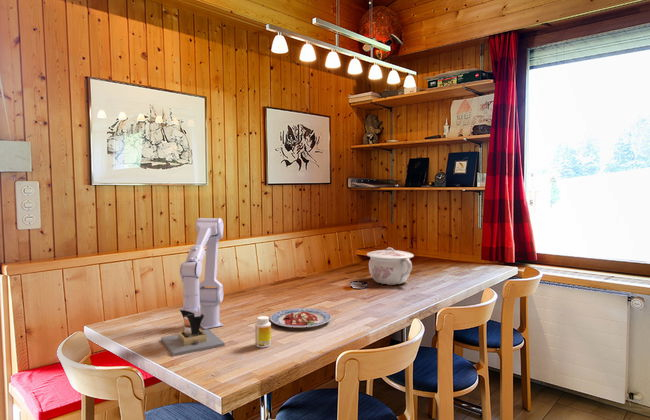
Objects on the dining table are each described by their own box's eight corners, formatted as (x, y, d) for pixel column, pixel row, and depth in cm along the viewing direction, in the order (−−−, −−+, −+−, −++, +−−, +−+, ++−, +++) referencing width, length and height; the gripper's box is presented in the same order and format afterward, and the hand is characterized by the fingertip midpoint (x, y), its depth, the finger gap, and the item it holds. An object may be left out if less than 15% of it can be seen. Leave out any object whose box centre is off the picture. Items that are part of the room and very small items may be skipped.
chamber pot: (367, 276, 277) (367, 243, 275) (412, 278, 273) (412, 244, 272) (364, 287, 249) (365, 250, 248) (415, 289, 245) (415, 251, 244)
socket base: (161, 340, 167) (161, 337, 167) (208, 331, 176) (208, 328, 176) (173, 356, 152) (173, 353, 151) (224, 345, 161) (224, 343, 161)
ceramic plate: (262, 316, 196) (262, 310, 196) (317, 310, 206) (317, 303, 206) (280, 335, 172) (280, 328, 172) (341, 327, 183) (341, 319, 182)
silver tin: (196, 336, 167) (195, 313, 167) (200, 340, 163) (200, 316, 163) (182, 339, 164) (182, 315, 164) (187, 343, 160) (186, 319, 160)
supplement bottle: (274, 345, 162) (274, 317, 161) (262, 349, 158) (261, 320, 157) (264, 341, 166) (264, 314, 165) (252, 345, 162) (252, 317, 161)
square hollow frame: (177, 337, 166) (176, 331, 166) (199, 333, 171) (198, 327, 170) (184, 346, 157) (184, 340, 157) (207, 342, 162) (207, 335, 161)
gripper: (174, 291, 167) (175, 327, 168) (185, 300, 155) (186, 339, 155) (193, 289, 170) (194, 324, 171) (206, 297, 158) (206, 335, 159)
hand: (192, 331), depth 164 cm, fingers open, 7 cm apart
